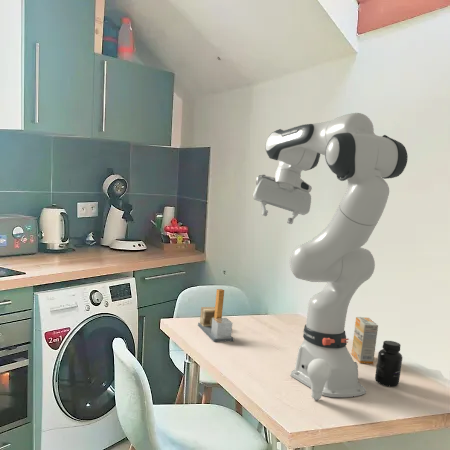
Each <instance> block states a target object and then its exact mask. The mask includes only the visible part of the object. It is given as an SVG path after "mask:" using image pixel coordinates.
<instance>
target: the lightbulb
mask: <svg viewBox="0 0 450 450" xmlns="http://www.w3.org/2000/svg"><path fill="white" fill-rule="evenodd" d="M307 371H308V375H309V378H310V380H311V388H310V390H311V394H310V395H311V398H312V399H314V401H318V400H320V399H322V396H323V395H322V391H323V388H324V385H325V383H326V381H327V380H328V379H329V377H330V375H331V367H330V365H329V363H328V362H327V361H325V360H324V359H320V358H318V359H314V360H312V361H311V362H310V363H309V365H308V369H307Z"/></svg>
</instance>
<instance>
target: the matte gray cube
mask: <svg viewBox="0 0 450 450" xmlns="http://www.w3.org/2000/svg"><path fill="white" fill-rule="evenodd" d="M232 331H233V322H232V320H229V318H227V317H222V318H212V328H211V334H212V335H213V336H214V337H215V338H216V339H229V338H231V337H232V334H233V333H232Z"/></svg>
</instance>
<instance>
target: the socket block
mask: <svg viewBox="0 0 450 450" xmlns="http://www.w3.org/2000/svg"><path fill="white" fill-rule="evenodd" d="M214 314H215V306H201V308H200V318H199V323H200V324H201V325H202V326H211V325H210V319H211V318H212V317H214Z"/></svg>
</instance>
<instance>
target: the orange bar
mask: <svg viewBox="0 0 450 450" xmlns="http://www.w3.org/2000/svg"><path fill="white" fill-rule="evenodd" d="M224 295H225V290H224V289H222V288H218V289H217V288H216V294H215V304H214V305H215V306H214V307H215V314H214V317H212V318H223V311H224V309H223V307H224V298H225V296H224ZM212 318H211V319H210V325H211V326H212Z"/></svg>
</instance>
